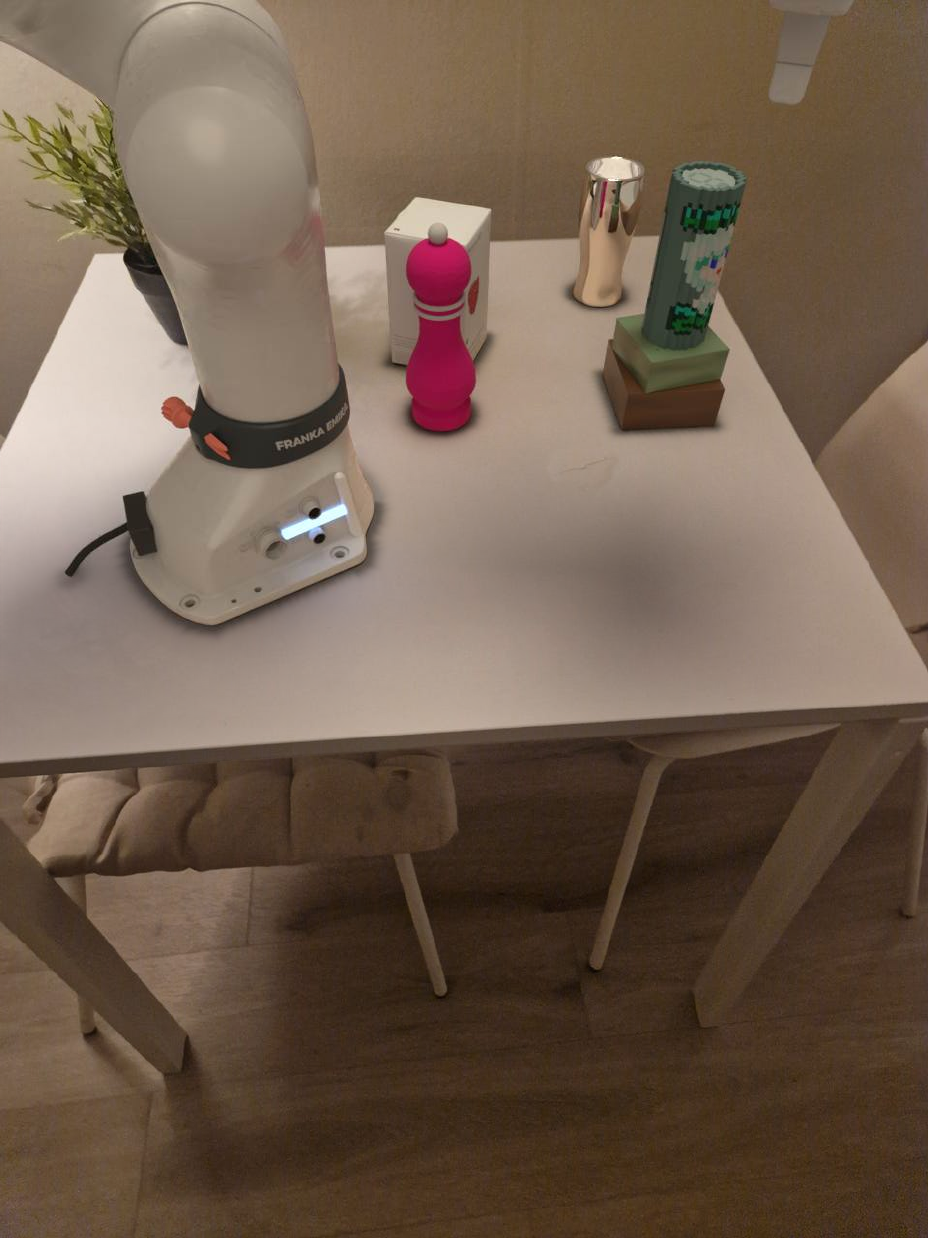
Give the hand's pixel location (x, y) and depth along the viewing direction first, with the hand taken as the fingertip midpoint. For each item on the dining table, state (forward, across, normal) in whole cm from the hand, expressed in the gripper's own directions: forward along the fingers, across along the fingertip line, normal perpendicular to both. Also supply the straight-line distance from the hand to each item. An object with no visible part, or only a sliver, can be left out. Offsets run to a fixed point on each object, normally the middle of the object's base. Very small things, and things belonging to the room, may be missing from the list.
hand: (795, 70), depth 44 cm
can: (+29, -21, -5) cm, 37 cm away
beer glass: (+37, -40, -17) cm, 58 cm away
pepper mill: (+37, -10, -26) cm, 47 cm away
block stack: (+37, -21, -5) cm, 43 cm away
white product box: (+37, -21, -31) cm, 53 cm away
